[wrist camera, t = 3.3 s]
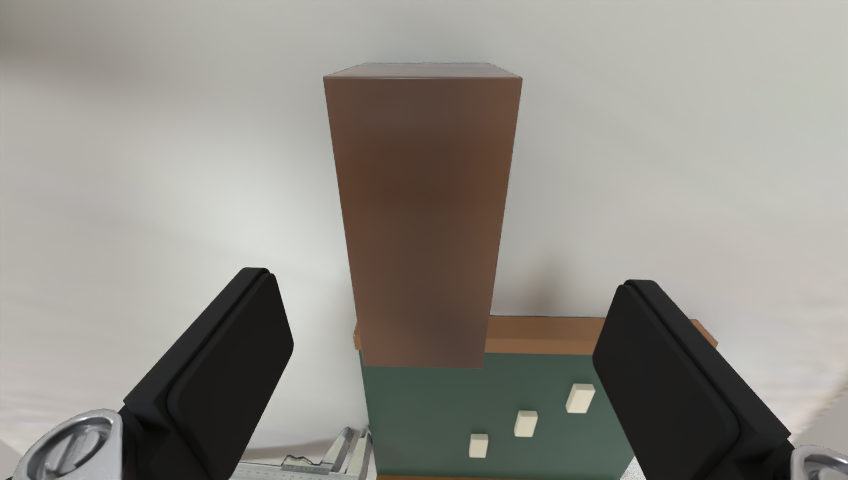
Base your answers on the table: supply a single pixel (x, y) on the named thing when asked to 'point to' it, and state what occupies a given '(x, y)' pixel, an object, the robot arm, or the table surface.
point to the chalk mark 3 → (580, 398)
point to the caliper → (302, 476)
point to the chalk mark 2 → (525, 423)
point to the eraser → (423, 203)
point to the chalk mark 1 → (478, 445)
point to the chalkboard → (500, 409)
